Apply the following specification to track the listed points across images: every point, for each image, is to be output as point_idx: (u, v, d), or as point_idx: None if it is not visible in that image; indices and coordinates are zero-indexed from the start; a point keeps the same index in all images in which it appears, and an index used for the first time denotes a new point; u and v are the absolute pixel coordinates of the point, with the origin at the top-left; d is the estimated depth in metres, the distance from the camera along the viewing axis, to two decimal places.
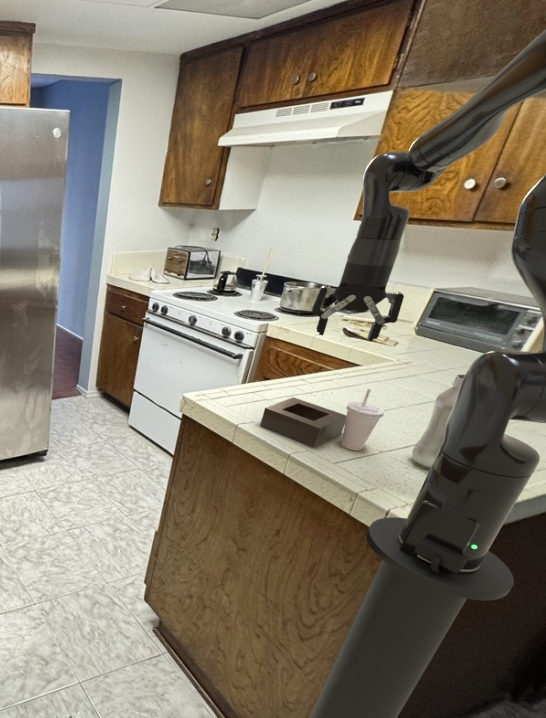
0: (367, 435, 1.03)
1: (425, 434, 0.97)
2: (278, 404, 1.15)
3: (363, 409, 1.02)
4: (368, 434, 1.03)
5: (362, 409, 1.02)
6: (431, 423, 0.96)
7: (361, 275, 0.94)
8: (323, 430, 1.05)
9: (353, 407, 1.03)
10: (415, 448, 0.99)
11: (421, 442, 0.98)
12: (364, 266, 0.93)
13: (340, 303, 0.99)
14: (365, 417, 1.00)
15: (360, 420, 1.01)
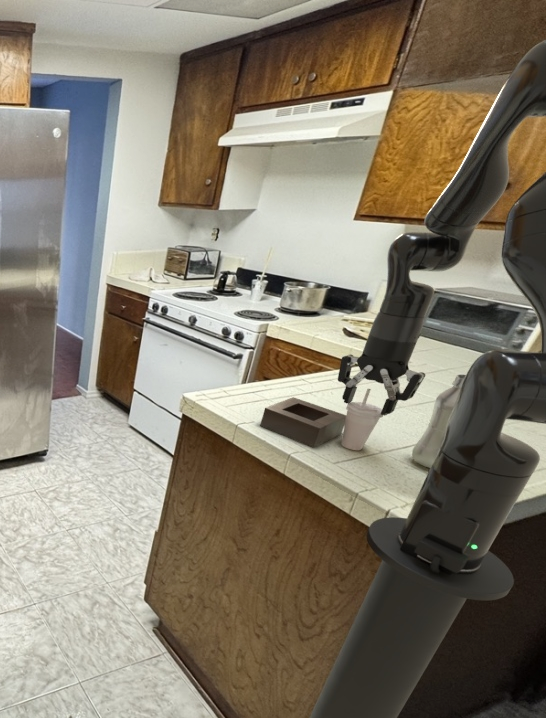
0: (367, 435, 1.03)
1: (425, 434, 0.97)
2: (278, 404, 1.15)
3: (363, 409, 1.02)
4: (368, 434, 1.03)
5: (362, 409, 1.02)
6: (431, 423, 0.96)
7: (374, 347, 0.96)
8: (323, 430, 1.05)
9: (353, 407, 1.03)
10: (415, 448, 0.99)
11: (421, 442, 0.98)
12: (377, 339, 0.95)
13: (360, 373, 1.01)
14: (365, 416, 1.00)
15: (360, 419, 1.01)
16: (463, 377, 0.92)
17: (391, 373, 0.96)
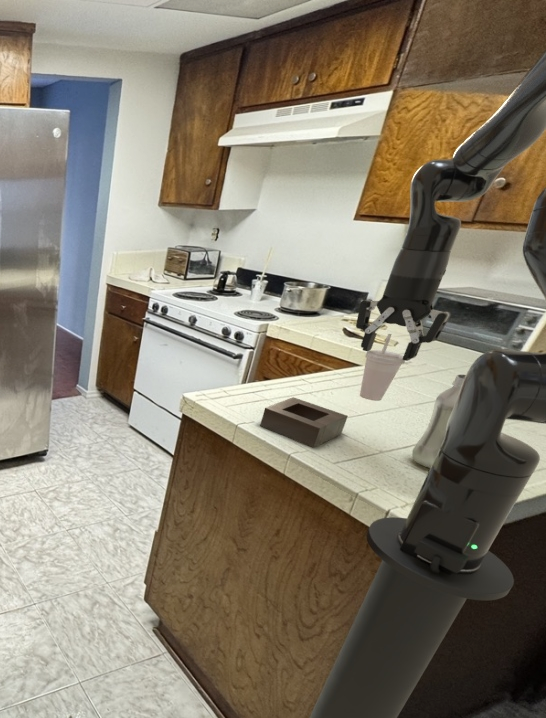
0: (388, 383, 0.97)
1: (425, 434, 0.97)
2: (278, 404, 1.15)
3: (383, 355, 0.97)
4: (389, 382, 0.97)
5: (382, 356, 0.97)
6: (431, 423, 0.96)
7: (396, 286, 0.91)
8: (323, 430, 1.05)
9: (372, 354, 0.98)
10: (415, 448, 0.99)
11: (421, 442, 0.98)
12: (399, 277, 0.90)
13: (380, 316, 0.95)
14: (386, 363, 0.95)
15: (380, 366, 0.96)
16: (463, 377, 0.92)
17: (414, 314, 0.91)
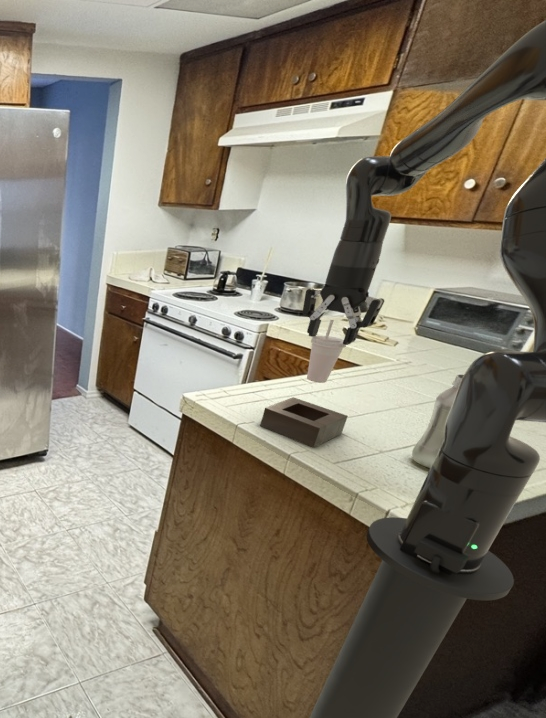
0: (331, 366, 1.04)
1: (425, 434, 0.97)
2: (278, 404, 1.15)
3: (326, 340, 1.03)
4: (332, 365, 1.04)
5: (325, 340, 1.03)
6: (431, 423, 0.96)
7: (335, 275, 0.98)
8: (323, 430, 1.05)
9: (317, 339, 1.04)
10: (415, 448, 0.99)
11: (421, 442, 0.98)
12: (337, 267, 0.97)
13: (323, 304, 1.02)
14: (328, 347, 1.02)
15: (323, 350, 1.03)
16: None
17: (352, 301, 0.98)
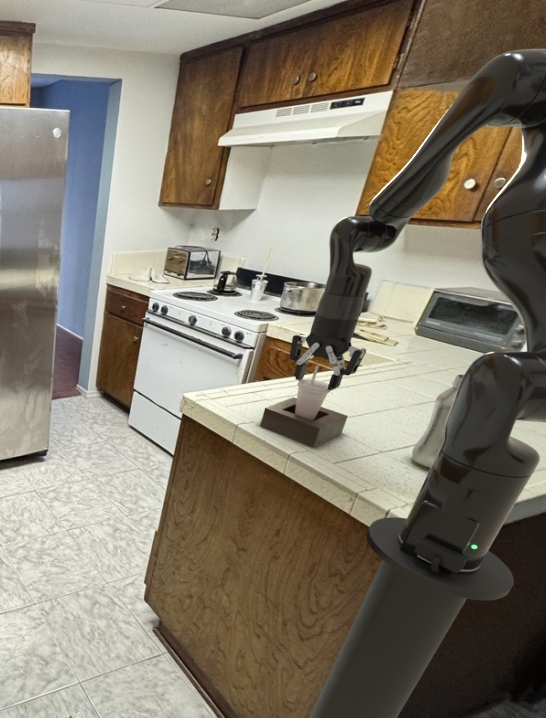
0: (316, 410, 1.09)
1: (425, 434, 0.97)
2: (278, 404, 1.15)
3: (312, 385, 1.08)
4: (317, 409, 1.09)
5: (311, 385, 1.08)
6: (431, 423, 0.96)
7: (319, 325, 1.02)
8: (323, 430, 1.05)
9: (303, 383, 1.09)
10: (415, 448, 0.99)
11: (421, 442, 0.98)
12: (321, 317, 1.01)
13: (308, 350, 1.07)
14: (313, 392, 1.06)
15: (309, 395, 1.07)
16: None
17: (335, 350, 1.02)
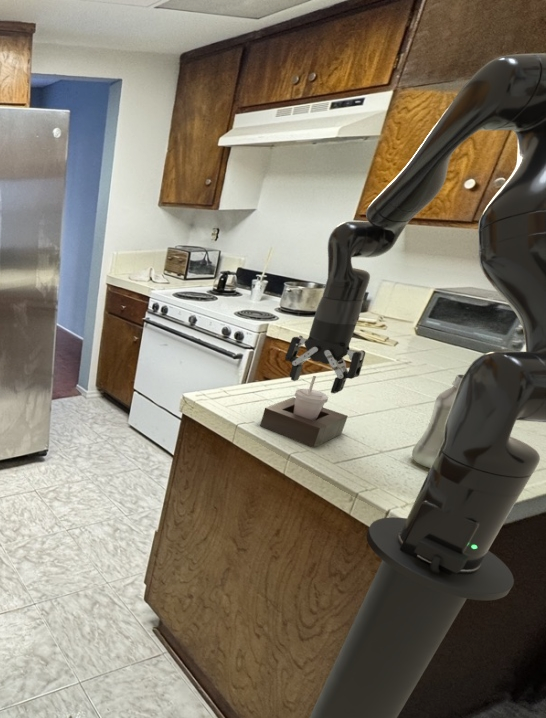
0: (313, 419, 1.10)
1: (425, 434, 0.97)
2: (278, 404, 1.15)
3: (309, 395, 1.09)
4: (314, 418, 1.10)
5: (308, 395, 1.09)
6: (431, 423, 0.96)
7: (317, 330, 1.02)
8: (323, 430, 1.05)
9: (300, 393, 1.10)
10: (415, 448, 0.99)
11: (421, 442, 0.98)
12: (320, 322, 1.02)
13: (306, 353, 1.07)
14: (310, 402, 1.07)
15: (306, 405, 1.09)
16: None
17: (334, 354, 1.03)
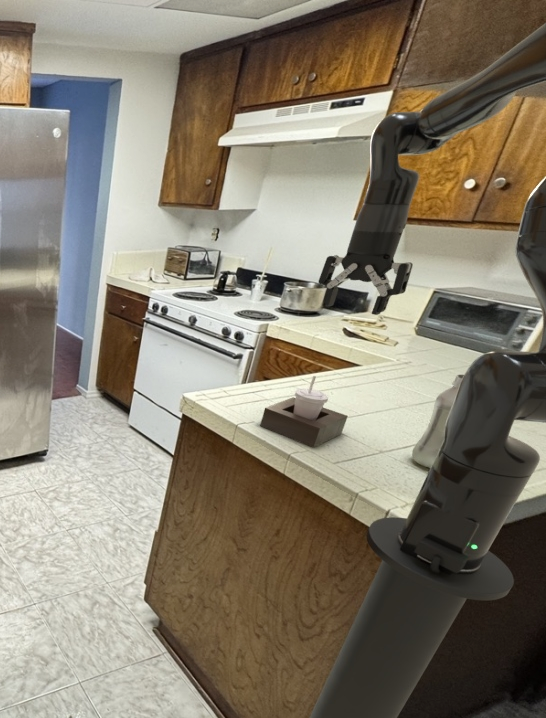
0: (313, 419, 1.10)
1: (425, 434, 0.97)
2: (278, 404, 1.15)
3: (309, 395, 1.09)
4: (314, 418, 1.10)
5: (308, 395, 1.09)
6: (431, 423, 0.96)
7: (358, 242, 0.92)
8: (323, 430, 1.05)
9: (300, 393, 1.10)
10: (415, 448, 0.99)
11: (421, 442, 0.98)
12: (361, 232, 0.91)
13: (343, 272, 0.97)
14: (310, 402, 1.07)
15: (306, 405, 1.09)
16: None
17: (376, 269, 0.92)
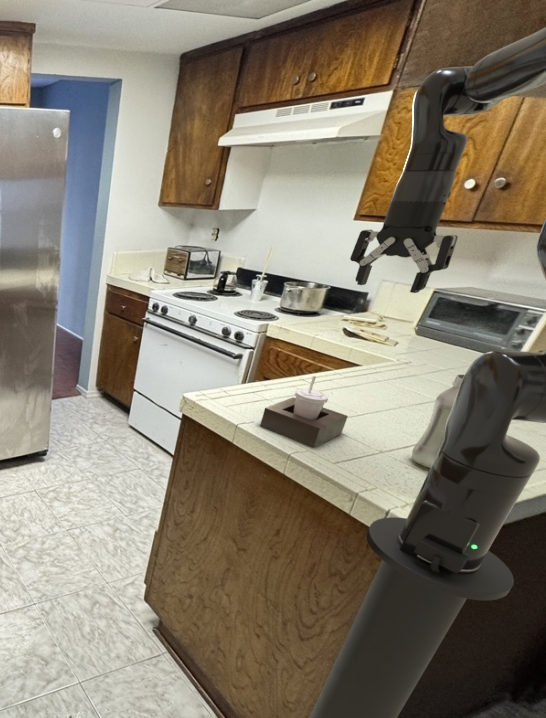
0: (313, 419, 1.10)
1: (425, 434, 0.97)
2: (278, 404, 1.15)
3: (309, 395, 1.09)
4: (314, 418, 1.10)
5: (308, 395, 1.09)
6: (431, 423, 0.96)
7: (397, 213, 0.85)
8: (323, 430, 1.05)
9: (300, 393, 1.10)
10: (415, 448, 0.99)
11: (421, 442, 0.98)
12: (400, 202, 0.84)
13: (379, 247, 0.89)
14: (310, 402, 1.07)
15: (306, 405, 1.09)
16: None
17: (416, 243, 0.85)
